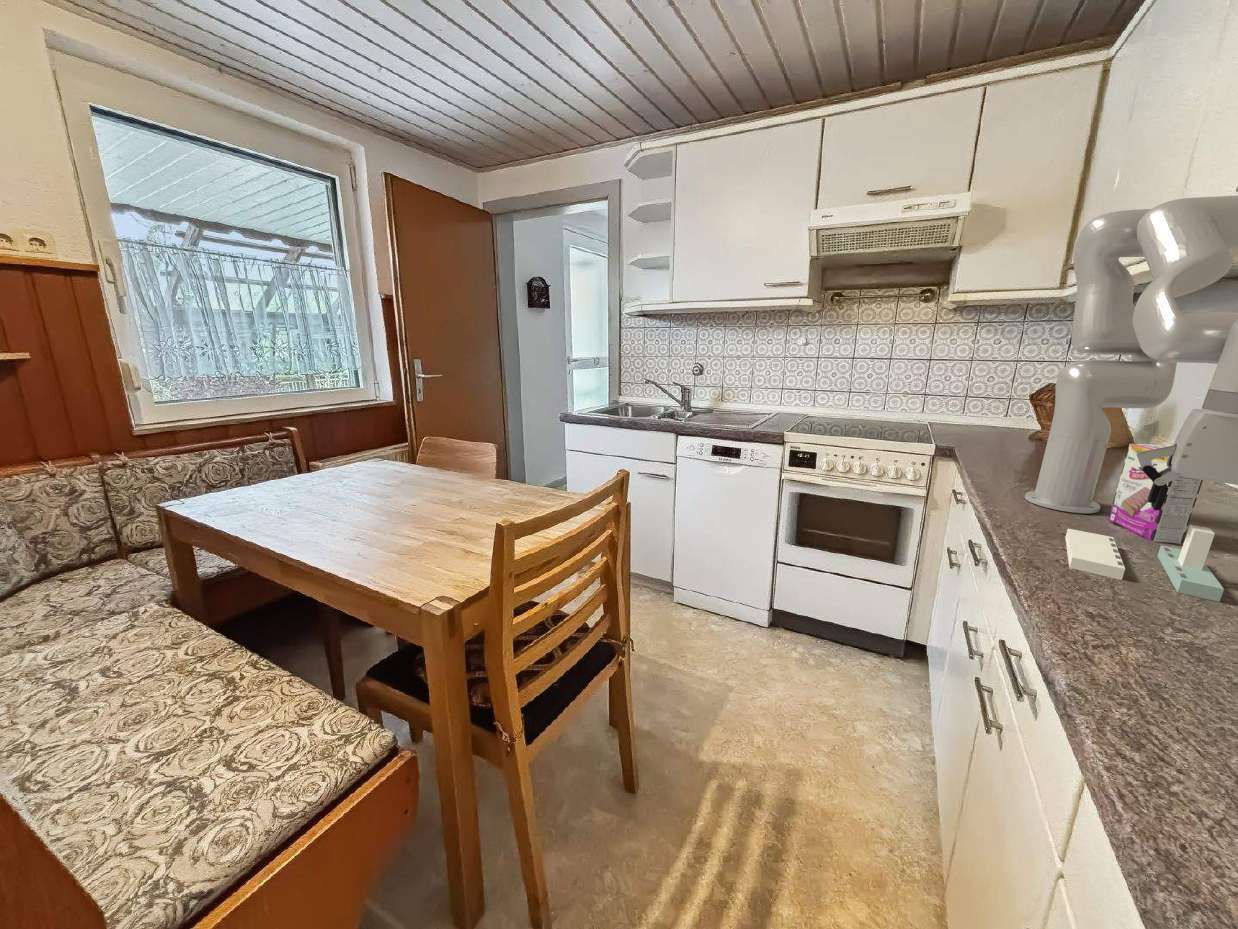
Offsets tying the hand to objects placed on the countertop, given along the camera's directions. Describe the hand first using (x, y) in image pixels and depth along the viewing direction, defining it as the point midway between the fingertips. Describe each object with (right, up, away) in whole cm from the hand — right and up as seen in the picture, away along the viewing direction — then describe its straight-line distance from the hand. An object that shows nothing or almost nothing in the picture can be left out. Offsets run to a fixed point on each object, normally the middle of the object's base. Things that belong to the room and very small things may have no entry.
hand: (1200, 515), depth 74 cm
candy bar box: (+12, -5, +19) cm, 24 cm away
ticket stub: (0, -10, +2) cm, 10 cm away
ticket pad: (-9, -8, +8) cm, 14 cm away
